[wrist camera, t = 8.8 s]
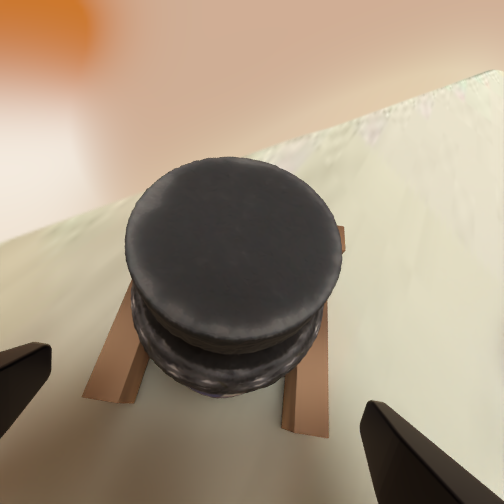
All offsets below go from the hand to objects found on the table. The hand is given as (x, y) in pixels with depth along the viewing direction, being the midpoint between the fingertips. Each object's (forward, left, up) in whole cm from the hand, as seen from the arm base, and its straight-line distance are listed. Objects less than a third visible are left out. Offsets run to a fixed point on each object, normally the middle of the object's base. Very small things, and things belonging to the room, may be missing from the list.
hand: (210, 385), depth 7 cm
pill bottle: (+3, 0, -8) cm, 8 cm away
